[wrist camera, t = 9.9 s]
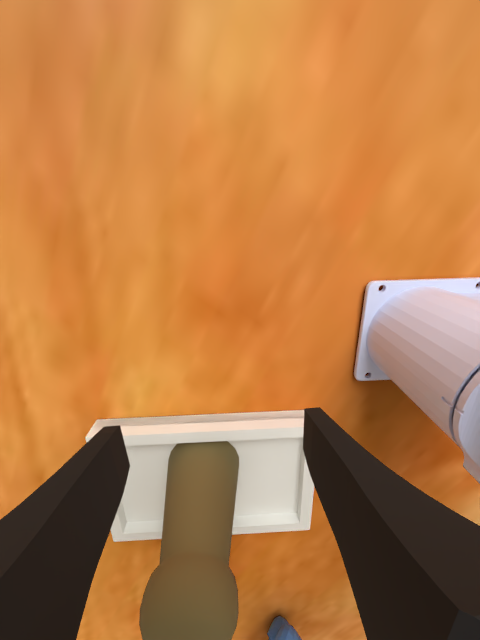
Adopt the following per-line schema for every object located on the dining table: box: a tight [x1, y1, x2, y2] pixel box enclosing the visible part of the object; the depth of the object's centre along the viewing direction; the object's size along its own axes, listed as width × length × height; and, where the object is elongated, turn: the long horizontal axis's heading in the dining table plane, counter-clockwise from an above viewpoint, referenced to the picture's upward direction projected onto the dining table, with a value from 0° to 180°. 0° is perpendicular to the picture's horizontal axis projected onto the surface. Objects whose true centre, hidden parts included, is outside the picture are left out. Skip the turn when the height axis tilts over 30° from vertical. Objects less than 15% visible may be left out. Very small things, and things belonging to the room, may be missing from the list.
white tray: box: [85, 410, 314, 542], centre depth 24 cm, size 18×12×2 cm, turn 91°
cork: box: [139, 441, 239, 640], centre depth 18 cm, size 6×6×11 cm
